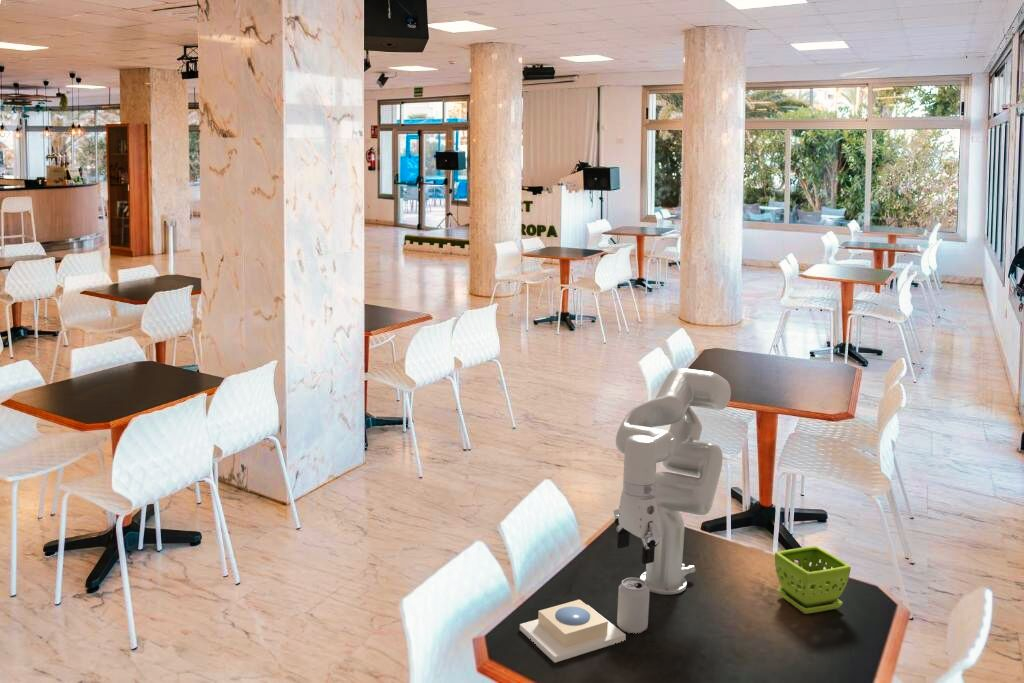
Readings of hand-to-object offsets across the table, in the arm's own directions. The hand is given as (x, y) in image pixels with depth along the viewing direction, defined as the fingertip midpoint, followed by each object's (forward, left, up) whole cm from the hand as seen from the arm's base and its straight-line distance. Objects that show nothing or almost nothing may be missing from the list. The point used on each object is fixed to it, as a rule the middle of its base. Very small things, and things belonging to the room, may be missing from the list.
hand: (635, 554), depth 210 cm
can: (0, 0, -20) cm, 20 cm away
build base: (+15, -4, -19) cm, 25 cm away
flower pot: (-48, +12, -20) cm, 54 cm away
